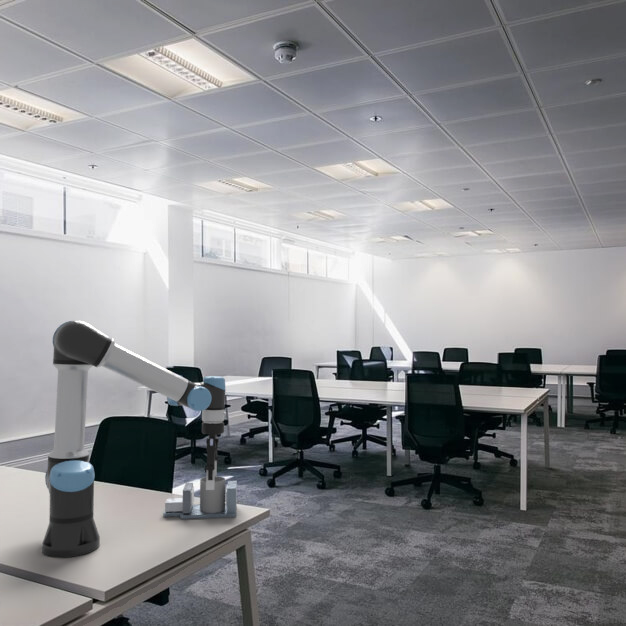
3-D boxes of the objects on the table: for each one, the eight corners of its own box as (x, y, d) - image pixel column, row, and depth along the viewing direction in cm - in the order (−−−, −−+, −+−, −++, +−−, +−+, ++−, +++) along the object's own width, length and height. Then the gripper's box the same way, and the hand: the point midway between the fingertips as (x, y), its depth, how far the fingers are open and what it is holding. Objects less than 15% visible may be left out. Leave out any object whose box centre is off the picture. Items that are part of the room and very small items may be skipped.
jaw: (191, 513, 195) (191, 490, 195) (164, 514, 194) (164, 491, 194) (194, 504, 205) (194, 482, 205) (168, 505, 204) (168, 483, 204)
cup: (221, 513, 196) (221, 482, 196) (197, 512, 197) (197, 482, 197) (227, 505, 204) (227, 476, 205) (204, 504, 205) (204, 476, 205)
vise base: (235, 517, 195) (236, 489, 196) (161, 519, 193) (162, 491, 193) (236, 506, 207) (236, 480, 208) (166, 508, 205) (167, 482, 205)
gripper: (222, 427, 190) (220, 494, 189) (225, 416, 214) (223, 475, 213) (199, 427, 189) (197, 494, 188) (204, 416, 213) (202, 475, 213)
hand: (211, 484), depth 201 cm, fingers open, 13 cm apart
